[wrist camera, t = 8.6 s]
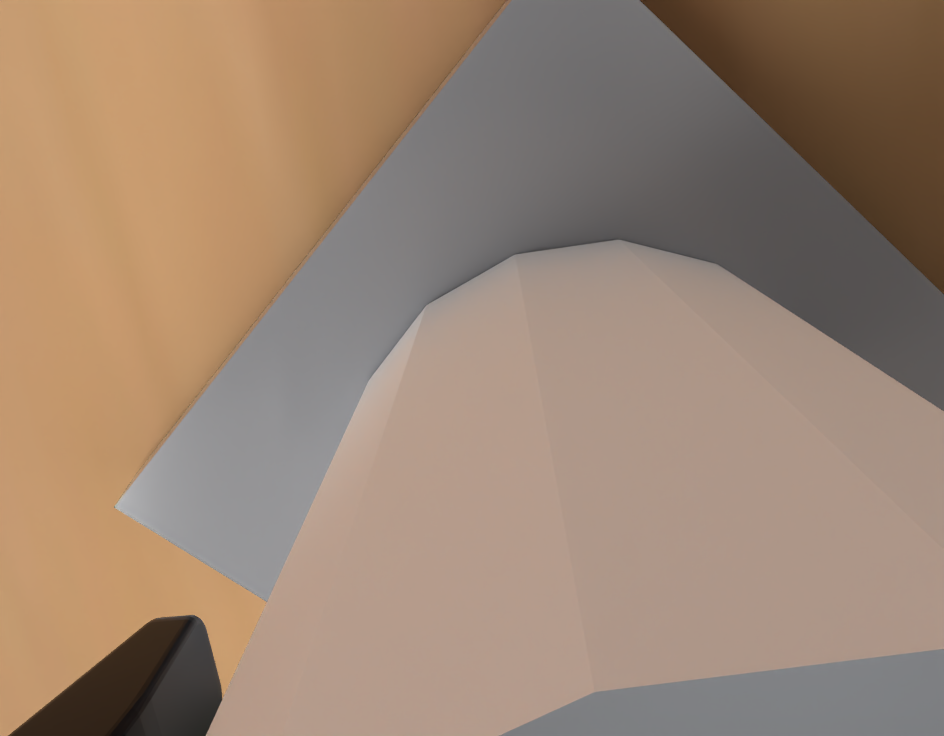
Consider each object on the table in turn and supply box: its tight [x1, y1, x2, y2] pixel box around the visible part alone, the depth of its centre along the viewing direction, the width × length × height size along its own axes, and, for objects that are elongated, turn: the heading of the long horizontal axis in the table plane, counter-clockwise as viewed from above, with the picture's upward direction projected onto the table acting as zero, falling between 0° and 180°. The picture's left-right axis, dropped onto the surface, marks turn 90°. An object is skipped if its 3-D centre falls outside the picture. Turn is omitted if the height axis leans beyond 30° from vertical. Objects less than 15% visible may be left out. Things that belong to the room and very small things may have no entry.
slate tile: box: [114, 0, 944, 602], centre depth 11 cm, size 8×8×1 cm
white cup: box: [206, 240, 944, 736], centre depth 7 cm, size 7×7×7 cm
